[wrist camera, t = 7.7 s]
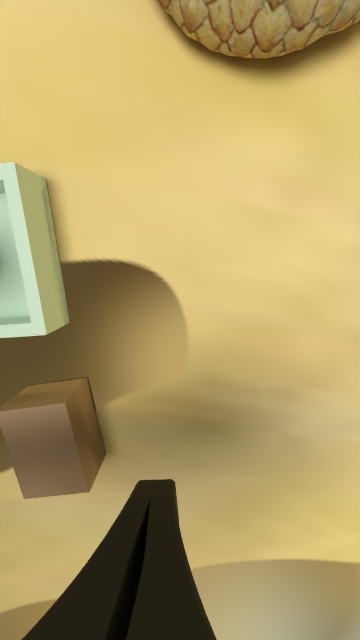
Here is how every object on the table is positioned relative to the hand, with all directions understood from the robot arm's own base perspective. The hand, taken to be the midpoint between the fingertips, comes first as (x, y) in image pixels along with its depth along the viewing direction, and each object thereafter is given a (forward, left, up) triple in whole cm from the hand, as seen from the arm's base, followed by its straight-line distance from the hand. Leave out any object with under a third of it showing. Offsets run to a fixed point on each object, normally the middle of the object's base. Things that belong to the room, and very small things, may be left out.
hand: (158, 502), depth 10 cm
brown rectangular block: (0, +6, -6) cm, 9 cm away
